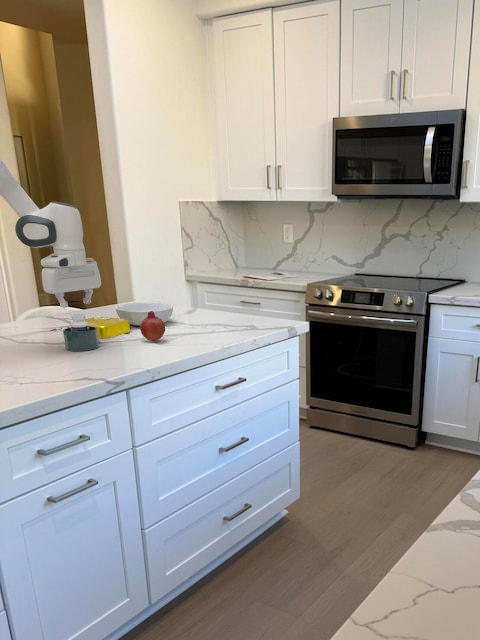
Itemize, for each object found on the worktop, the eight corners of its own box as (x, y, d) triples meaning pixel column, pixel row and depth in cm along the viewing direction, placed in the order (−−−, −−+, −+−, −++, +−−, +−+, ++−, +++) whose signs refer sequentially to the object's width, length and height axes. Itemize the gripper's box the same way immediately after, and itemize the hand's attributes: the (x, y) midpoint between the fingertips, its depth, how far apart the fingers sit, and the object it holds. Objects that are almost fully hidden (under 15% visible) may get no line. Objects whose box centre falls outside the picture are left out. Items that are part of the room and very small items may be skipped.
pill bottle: (93, 346, 192) (89, 315, 189) (75, 348, 189) (71, 317, 186) (88, 343, 196) (84, 313, 193) (71, 345, 194) (67, 314, 190)
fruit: (165, 343, 201) (162, 313, 197) (140, 344, 200) (137, 313, 196) (167, 338, 208) (164, 308, 205) (142, 338, 207) (139, 309, 203)
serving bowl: (154, 332, 220) (152, 313, 217) (105, 327, 226) (103, 309, 224) (184, 321, 238) (183, 304, 236) (139, 317, 245) (137, 300, 242)
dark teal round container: (74, 352, 186) (71, 333, 184) (60, 347, 193) (57, 328, 191) (104, 347, 193) (102, 329, 191) (90, 343, 200) (88, 325, 198)
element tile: (69, 335, 210) (67, 322, 208) (99, 327, 223) (97, 314, 221) (104, 339, 205) (102, 325, 203) (132, 331, 218) (131, 318, 216)
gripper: (88, 256, 194) (93, 300, 198) (35, 260, 176) (42, 308, 181) (103, 257, 191) (107, 302, 196) (51, 261, 174) (58, 310, 179)
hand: (76, 305), depth 188 cm, fingers open, 8 cm apart
